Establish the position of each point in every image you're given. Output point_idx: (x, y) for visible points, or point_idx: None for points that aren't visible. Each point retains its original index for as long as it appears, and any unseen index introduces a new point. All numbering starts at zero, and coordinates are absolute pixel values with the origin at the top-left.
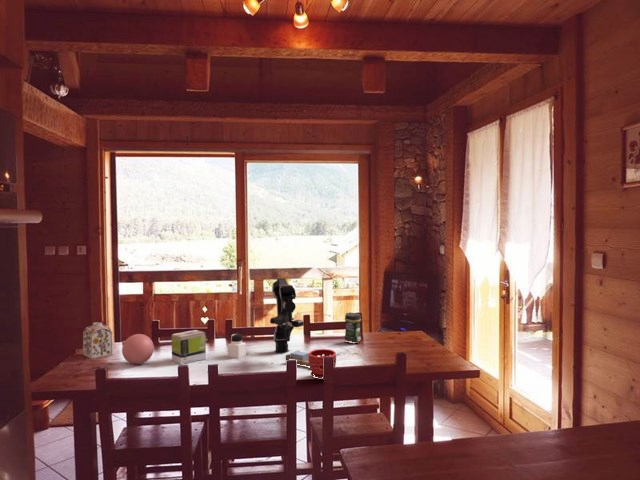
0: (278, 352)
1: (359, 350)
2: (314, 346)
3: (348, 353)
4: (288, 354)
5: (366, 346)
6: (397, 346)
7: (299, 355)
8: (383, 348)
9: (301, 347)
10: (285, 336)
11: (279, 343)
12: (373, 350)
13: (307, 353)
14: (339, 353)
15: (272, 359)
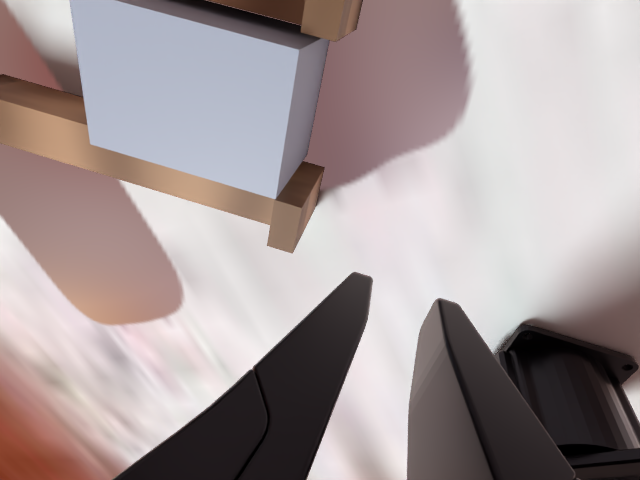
0: (574, 340)
1: (75, 421)
2: (329, 475)
3: (81, 375)
4: (327, 21)
5: (95, 469)
6: (2, 466)
7: (135, 3)
8: (20, 446)
9: (405, 461)
10: (432, 330)
11: (596, 428)
12: (27, 423)
13: (88, 119)
14: (120, 371)
15: (615, 93)
